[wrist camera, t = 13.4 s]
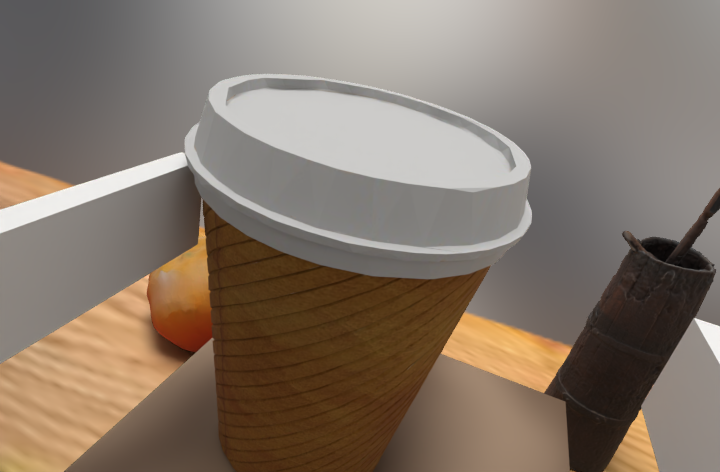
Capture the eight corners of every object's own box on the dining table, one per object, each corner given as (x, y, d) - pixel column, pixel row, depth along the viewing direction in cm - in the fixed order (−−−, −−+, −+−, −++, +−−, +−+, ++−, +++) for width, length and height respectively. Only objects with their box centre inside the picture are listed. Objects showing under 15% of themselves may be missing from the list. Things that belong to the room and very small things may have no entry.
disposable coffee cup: (390, 342, 24) (466, 100, 19) (460, 542, 16) (632, 221, 11) (185, 335, 22) (202, 52, 16) (147, 569, 14) (156, 163, 8)
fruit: (299, 349, 33) (247, 258, 29) (189, 399, 33) (119, 313, 28) (285, 283, 40) (241, 201, 36) (193, 323, 39) (138, 245, 35)
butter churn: (467, 452, 30) (693, -83, 18) (498, 367, 38) (668, -40, 26) (626, 535, 27) (1023, -38, 15) (623, 425, 35) (880, -6, 23)
